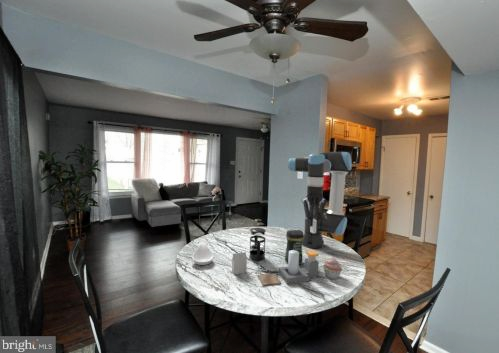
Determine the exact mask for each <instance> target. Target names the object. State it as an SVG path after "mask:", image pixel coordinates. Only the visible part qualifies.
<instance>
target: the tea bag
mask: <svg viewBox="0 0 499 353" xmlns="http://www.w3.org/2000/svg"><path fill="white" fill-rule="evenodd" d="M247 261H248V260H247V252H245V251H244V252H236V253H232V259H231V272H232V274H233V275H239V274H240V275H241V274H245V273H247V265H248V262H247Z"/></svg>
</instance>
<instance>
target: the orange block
mask: <svg viewBox="0 0 499 353" xmlns="http://www.w3.org/2000/svg"><path fill="white" fill-rule="evenodd" d="M305 254H306V255H307V258H308V261H310V262H316V260H317V257H319V253H318V252H317V251H315V250H306V251H305Z"/></svg>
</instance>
